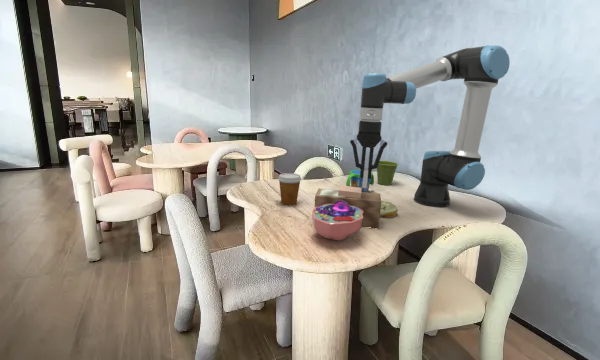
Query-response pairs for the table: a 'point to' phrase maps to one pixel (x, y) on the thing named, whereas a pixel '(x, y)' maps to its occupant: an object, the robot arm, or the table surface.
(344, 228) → the cell model
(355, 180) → the snack cup
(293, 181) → the disposable coffee cup
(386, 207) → the decorated donut
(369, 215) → the block
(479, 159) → the robot arm
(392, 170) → the plant pot
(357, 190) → the tile
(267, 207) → the table surface
